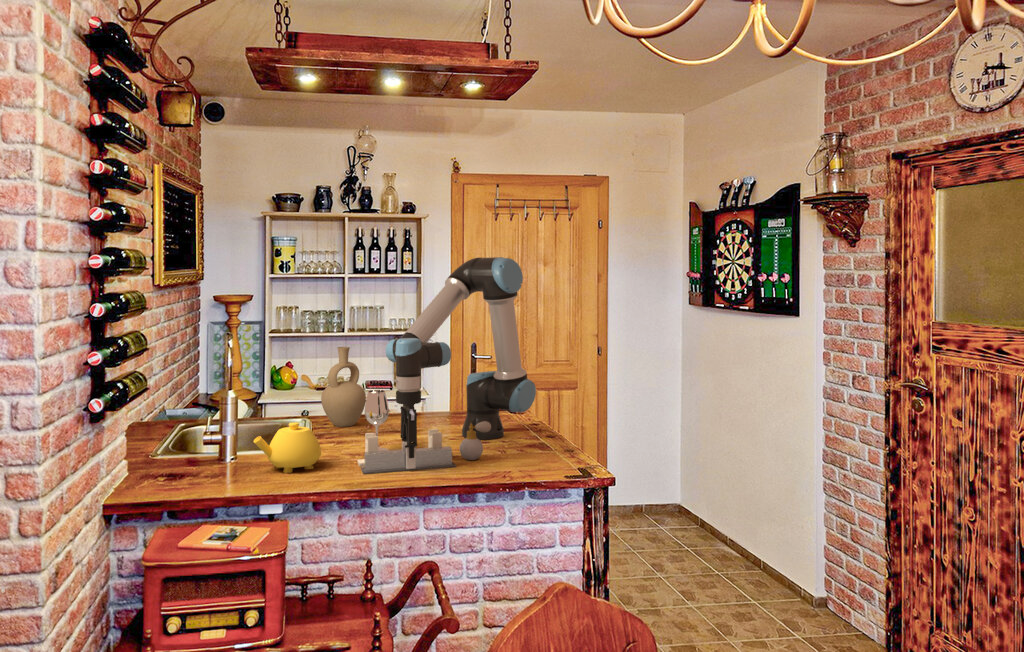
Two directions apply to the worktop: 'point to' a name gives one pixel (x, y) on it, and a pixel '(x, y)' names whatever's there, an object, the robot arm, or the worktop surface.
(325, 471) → the worktop surface
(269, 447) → the teapot
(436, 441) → the rack
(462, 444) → the perfume bottle
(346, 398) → the vase
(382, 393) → the wineglass
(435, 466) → the mat
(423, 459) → the rail
